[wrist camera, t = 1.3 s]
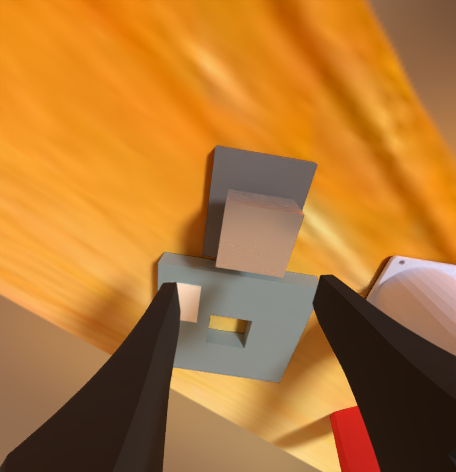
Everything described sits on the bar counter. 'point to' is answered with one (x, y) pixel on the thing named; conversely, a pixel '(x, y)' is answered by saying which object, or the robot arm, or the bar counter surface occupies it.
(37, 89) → the bar counter surface
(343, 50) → the bar counter surface
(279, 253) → the tan cubic block
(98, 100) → the bar counter surface
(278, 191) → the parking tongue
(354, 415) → the french fries
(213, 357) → the hole plate
